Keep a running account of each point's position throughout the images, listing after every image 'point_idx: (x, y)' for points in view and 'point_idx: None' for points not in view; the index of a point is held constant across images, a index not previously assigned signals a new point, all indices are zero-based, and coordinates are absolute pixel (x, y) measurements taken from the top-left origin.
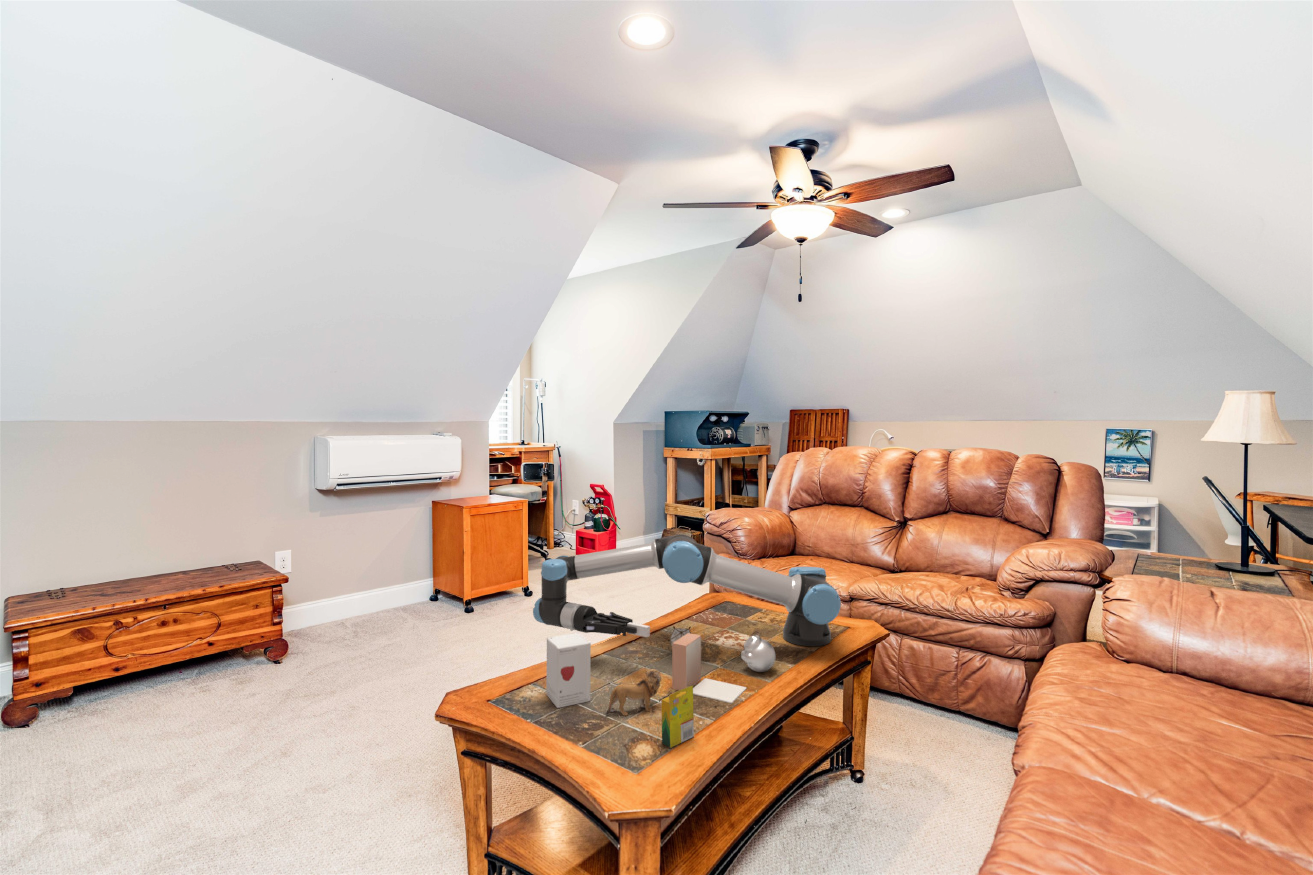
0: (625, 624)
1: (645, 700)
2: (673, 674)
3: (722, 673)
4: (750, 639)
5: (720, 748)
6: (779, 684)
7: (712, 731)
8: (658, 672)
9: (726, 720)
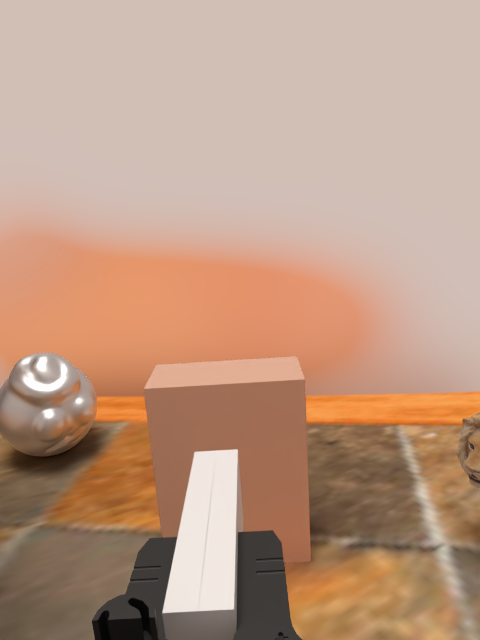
0: (259, 625)
1: None
2: (308, 505)
3: (100, 499)
4: (53, 364)
5: (475, 392)
6: (136, 411)
7: (439, 414)
8: (477, 414)
9: (374, 414)
